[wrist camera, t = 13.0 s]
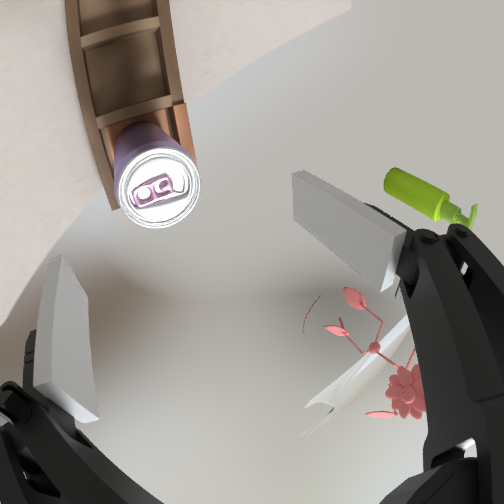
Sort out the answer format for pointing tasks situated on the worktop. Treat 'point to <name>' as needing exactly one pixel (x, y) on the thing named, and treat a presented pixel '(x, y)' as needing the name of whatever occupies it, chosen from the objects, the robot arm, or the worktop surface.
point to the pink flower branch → (404, 384)
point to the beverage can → (153, 176)
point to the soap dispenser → (425, 198)
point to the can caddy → (125, 74)
